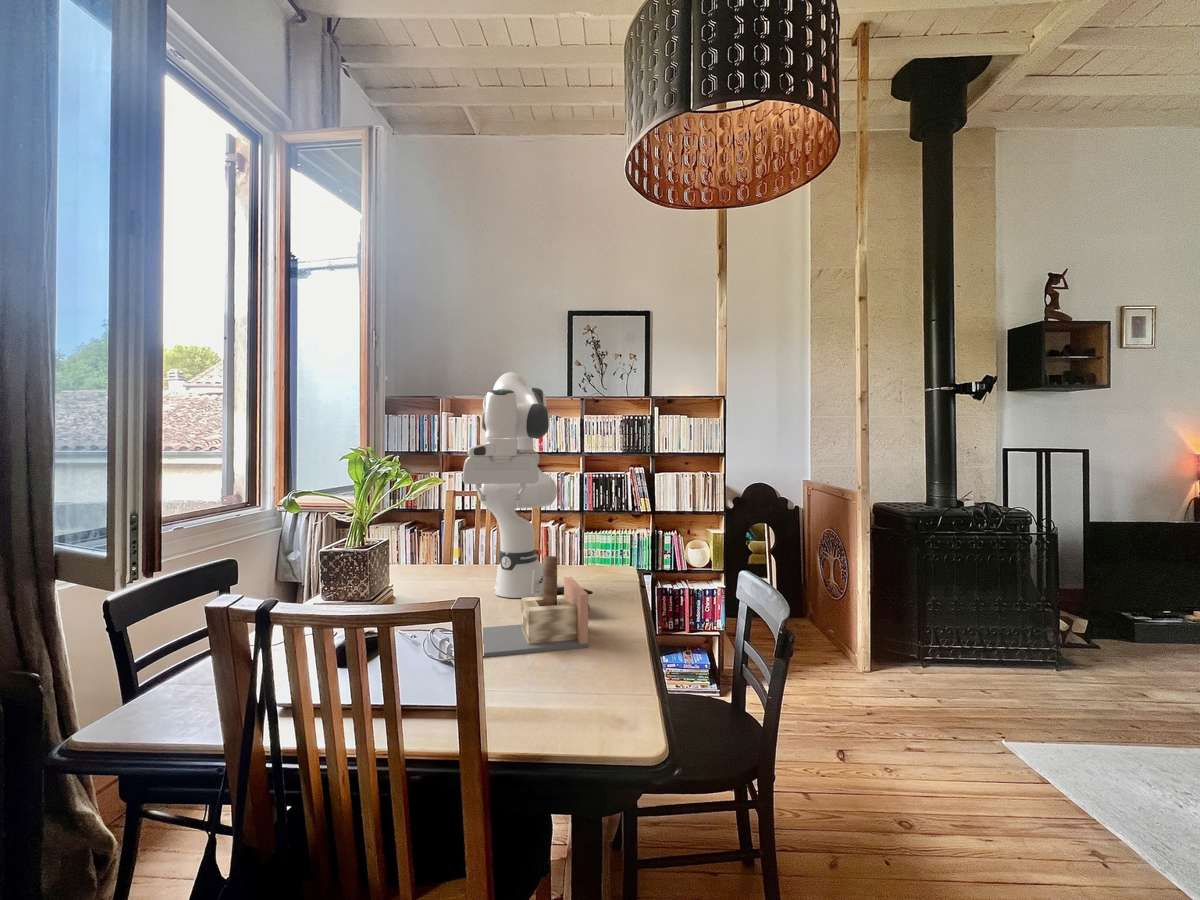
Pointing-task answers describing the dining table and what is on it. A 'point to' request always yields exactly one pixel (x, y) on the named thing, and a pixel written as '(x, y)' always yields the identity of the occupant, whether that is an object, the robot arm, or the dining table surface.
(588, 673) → the dining table surface
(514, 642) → the backstop
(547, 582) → the dowel
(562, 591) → the figurine character
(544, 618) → the block
